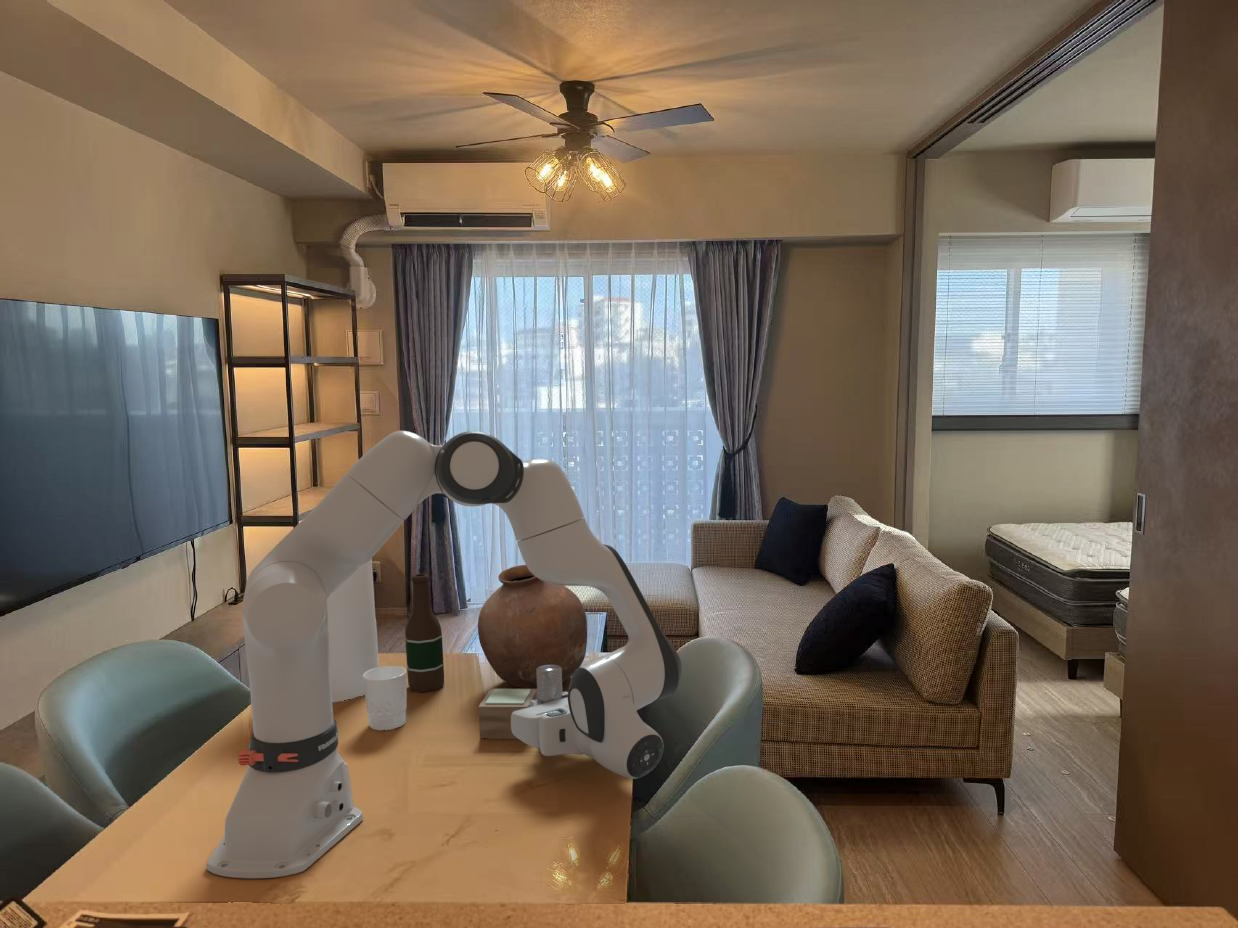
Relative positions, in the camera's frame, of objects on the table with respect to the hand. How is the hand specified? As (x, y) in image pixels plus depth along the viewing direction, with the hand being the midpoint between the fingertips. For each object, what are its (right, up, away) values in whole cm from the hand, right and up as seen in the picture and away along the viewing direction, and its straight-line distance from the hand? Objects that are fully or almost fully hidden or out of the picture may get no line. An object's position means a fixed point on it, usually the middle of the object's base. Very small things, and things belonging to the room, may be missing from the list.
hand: (547, 700), depth 154 cm
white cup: (-31, -8, +11) cm, 34 cm away
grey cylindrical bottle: (+1, -7, 0) cm, 7 cm away
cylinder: (-47, -6, +32) cm, 57 cm away
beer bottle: (-28, -6, +31) cm, 42 cm away
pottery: (-5, -5, +31) cm, 32 cm away
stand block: (-7, -7, +7) cm, 12 cm away
